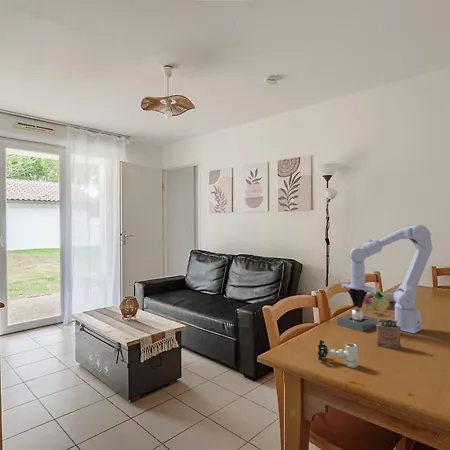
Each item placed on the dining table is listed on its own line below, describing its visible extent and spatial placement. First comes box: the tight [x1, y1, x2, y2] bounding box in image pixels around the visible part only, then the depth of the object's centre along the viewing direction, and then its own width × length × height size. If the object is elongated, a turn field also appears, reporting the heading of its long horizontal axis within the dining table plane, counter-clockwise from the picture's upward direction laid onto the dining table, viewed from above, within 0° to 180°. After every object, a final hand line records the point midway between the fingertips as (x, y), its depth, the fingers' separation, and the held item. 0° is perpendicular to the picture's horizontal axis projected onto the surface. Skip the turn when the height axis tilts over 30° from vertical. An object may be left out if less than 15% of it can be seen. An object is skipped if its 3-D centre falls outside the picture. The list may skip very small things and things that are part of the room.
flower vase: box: [351, 289, 395, 311], centre depth 170 cm, size 12×12×35 cm
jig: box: [336, 312, 379, 333], centre depth 143 cm, size 12×12×3 cm
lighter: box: [376, 318, 402, 349], centre depth 119 cm, size 8×3×10 cm, turn 71°
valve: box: [317, 339, 359, 369], centre depth 106 cm, size 7×7×12 cm
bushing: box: [351, 308, 364, 322], centre depth 141 cm, size 4×4×7 cm
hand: (357, 306), depth 141 cm, fingers closed
